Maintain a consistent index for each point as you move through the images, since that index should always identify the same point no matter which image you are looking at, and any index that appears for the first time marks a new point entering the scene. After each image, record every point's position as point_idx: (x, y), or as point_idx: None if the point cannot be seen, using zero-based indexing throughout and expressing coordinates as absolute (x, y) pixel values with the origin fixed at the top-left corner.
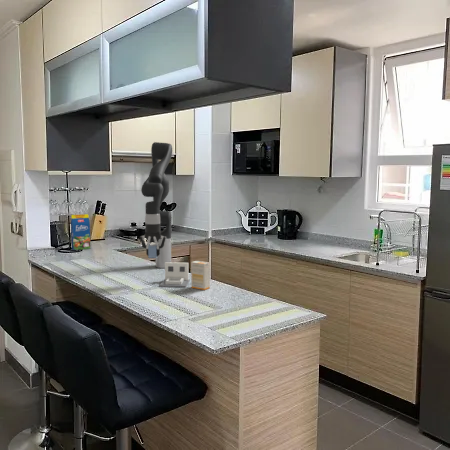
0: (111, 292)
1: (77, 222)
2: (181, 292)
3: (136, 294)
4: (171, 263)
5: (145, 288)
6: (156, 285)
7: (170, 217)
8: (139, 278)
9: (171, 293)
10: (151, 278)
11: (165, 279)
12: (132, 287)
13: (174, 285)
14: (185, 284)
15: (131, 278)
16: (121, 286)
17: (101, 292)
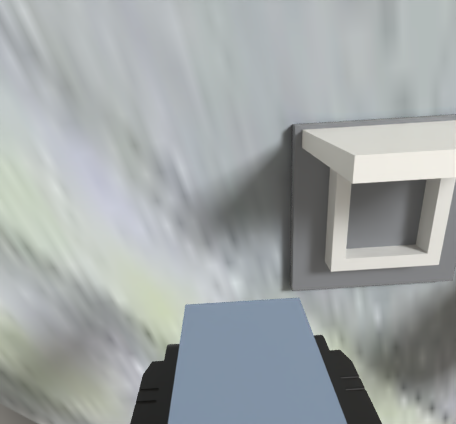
0: (79, 408)
1: None
2: (422, 360)
3: None
4: (426, 175)
5: None
6: (264, 260)
7: None
8: (76, 90)
9: (372, 381)
10: (171, 73)
11: (304, 148)
12: (139, 319)
13: (384, 283)
14: (452, 251)
15: (14, 101)
16: (67, 311)
17: (32, 414)
